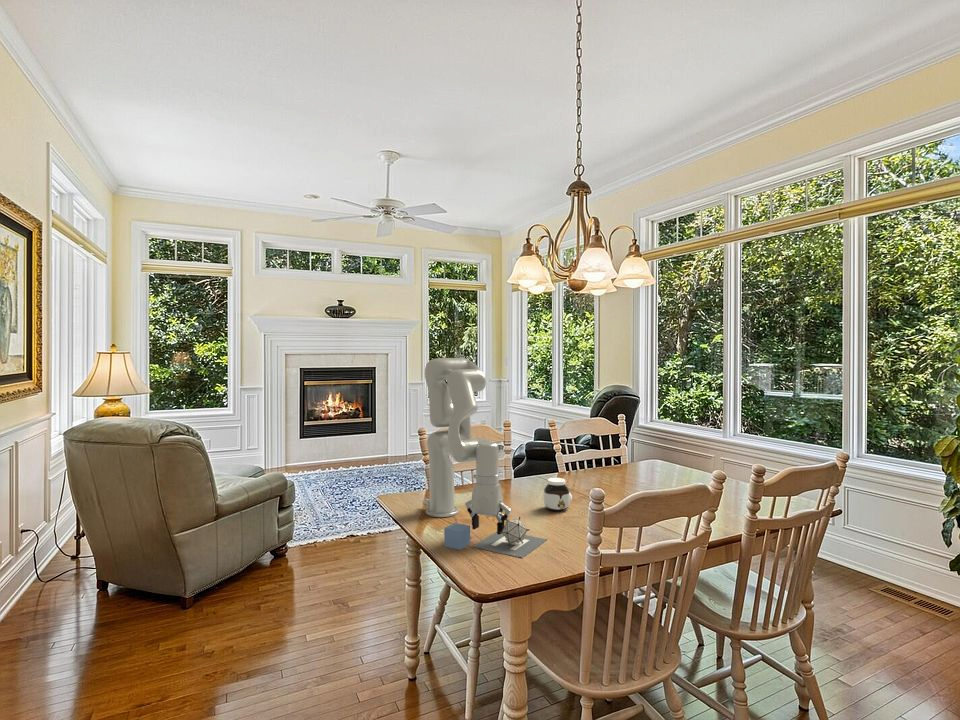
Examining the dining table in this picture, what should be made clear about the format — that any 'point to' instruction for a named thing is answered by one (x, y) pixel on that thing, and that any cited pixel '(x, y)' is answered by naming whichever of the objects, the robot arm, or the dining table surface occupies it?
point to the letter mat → (501, 545)
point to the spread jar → (557, 495)
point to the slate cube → (457, 536)
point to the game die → (514, 531)
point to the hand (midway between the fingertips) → (487, 530)
